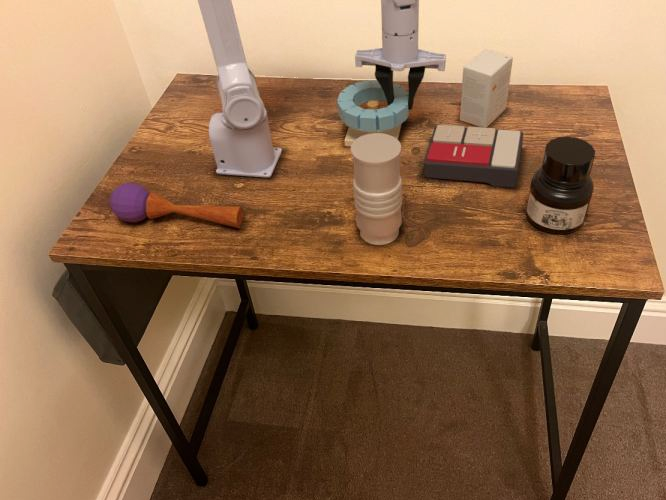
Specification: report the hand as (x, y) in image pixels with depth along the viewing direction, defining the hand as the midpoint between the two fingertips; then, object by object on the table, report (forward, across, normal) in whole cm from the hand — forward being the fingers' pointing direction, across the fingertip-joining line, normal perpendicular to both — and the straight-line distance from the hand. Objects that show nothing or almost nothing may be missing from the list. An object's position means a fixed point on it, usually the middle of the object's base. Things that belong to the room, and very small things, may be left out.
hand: (400, 106), depth 106 cm
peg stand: (+6, -5, 0) cm, 8 cm away
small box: (+6, +14, +8) cm, 17 cm away
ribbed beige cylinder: (+6, 0, -26) cm, 26 cm away
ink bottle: (+6, +26, -19) cm, 33 cm away
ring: (+1, -5, 0) cm, 5 cm away
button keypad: (+6, +13, -7) cm, 16 cm away
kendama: (+6, -31, -27) cm, 41 cm away
